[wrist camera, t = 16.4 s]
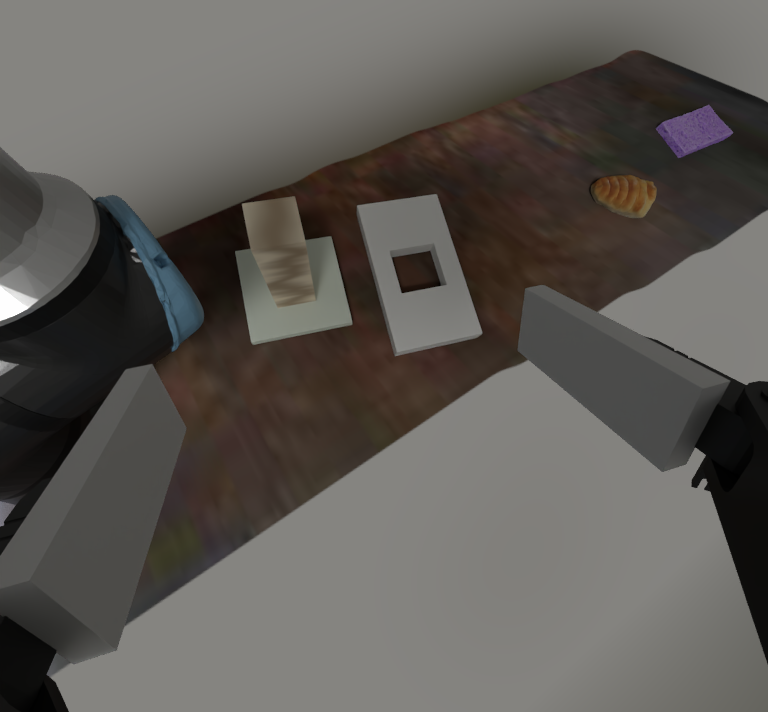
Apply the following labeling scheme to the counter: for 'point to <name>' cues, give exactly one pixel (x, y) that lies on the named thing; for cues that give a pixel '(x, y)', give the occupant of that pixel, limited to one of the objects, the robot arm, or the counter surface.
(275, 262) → the peg
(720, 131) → the sponges
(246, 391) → the counter surface
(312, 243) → the tile
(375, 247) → the plate with hole
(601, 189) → the pastry
